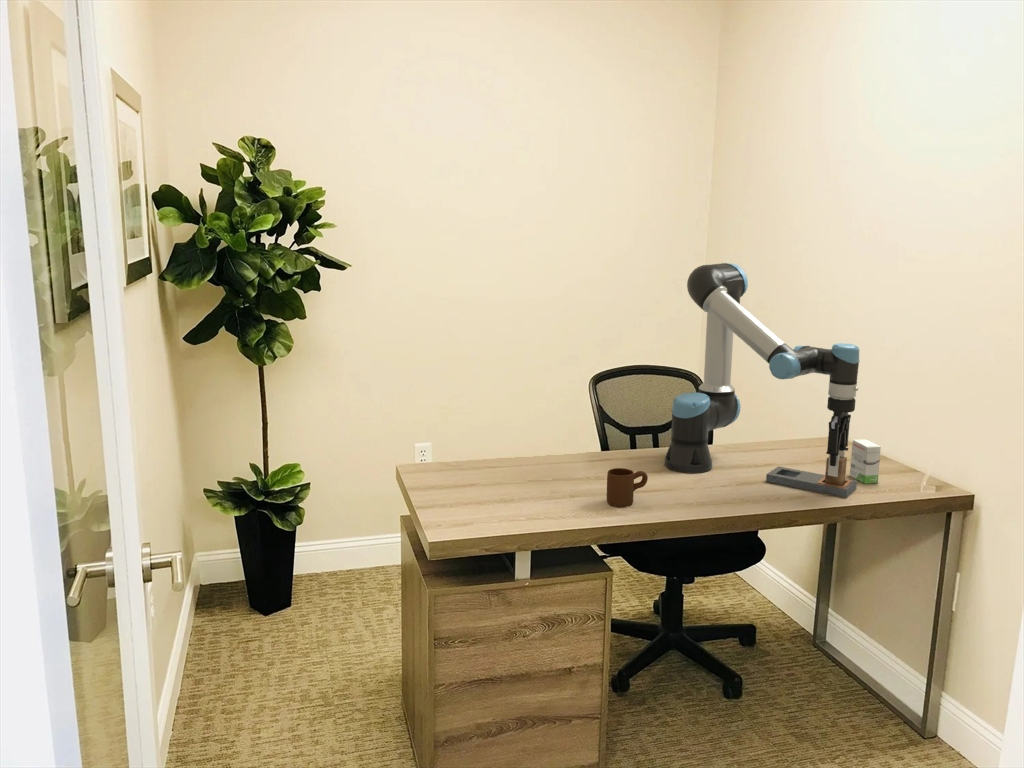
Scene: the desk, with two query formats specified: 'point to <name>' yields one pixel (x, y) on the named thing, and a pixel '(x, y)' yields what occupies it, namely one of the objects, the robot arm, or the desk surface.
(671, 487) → the desk surface
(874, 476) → the ink box
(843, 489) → the grey socket board
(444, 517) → the desk surface
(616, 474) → the mug
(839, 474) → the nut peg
